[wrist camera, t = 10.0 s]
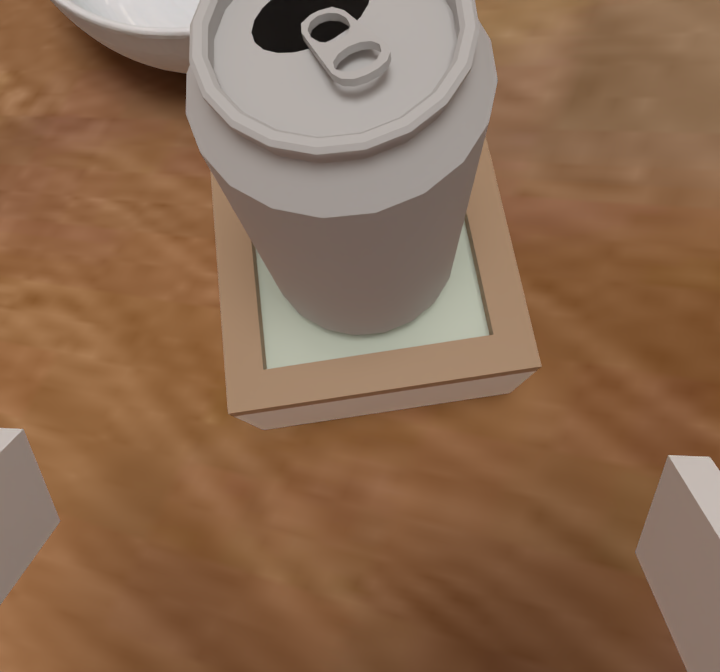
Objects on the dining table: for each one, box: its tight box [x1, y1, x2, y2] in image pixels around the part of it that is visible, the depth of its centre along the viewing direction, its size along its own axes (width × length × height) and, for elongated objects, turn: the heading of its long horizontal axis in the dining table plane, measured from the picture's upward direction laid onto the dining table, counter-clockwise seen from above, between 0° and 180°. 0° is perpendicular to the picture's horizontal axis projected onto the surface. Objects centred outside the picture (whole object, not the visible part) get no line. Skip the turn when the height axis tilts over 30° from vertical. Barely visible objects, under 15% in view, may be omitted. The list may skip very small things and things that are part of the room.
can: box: [186, 0, 498, 335], centre depth 17 cm, size 8×8×12 cm
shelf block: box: [210, 136, 541, 430], centre depth 25 cm, size 12×12×6 cm
